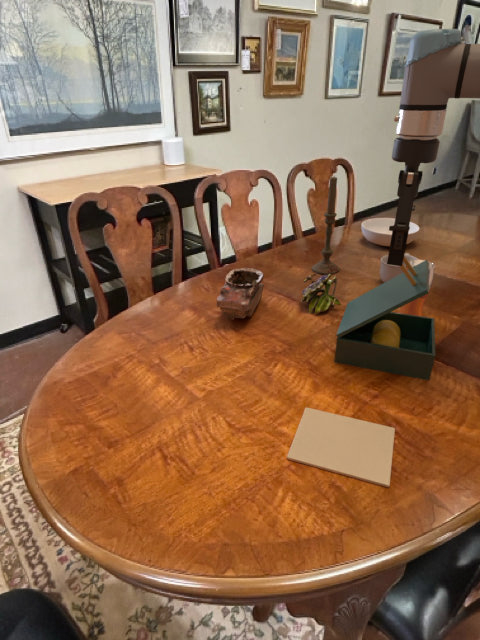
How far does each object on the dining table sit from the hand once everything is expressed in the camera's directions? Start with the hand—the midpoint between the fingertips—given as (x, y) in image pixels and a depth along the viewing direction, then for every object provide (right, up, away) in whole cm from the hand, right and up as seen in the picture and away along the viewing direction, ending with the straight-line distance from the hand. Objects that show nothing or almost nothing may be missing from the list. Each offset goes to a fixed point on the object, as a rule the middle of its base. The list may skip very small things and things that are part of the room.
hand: (396, 252), depth 83 cm
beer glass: (+13, -13, +25) cm, 31 cm away
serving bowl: (+25, +16, +77) cm, 83 cm away
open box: (+1, -21, +11) cm, 24 cm away
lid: (-1, -9, +5) cm, 11 cm away
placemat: (-14, -35, -13) cm, 39 cm away
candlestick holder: (-3, +3, +55) cm, 55 cm away
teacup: (+17, -2, +45) cm, 48 cm away
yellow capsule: (+1, -20, +11) cm, 23 cm away
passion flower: (-9, -10, +32) cm, 35 cm away
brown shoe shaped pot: (-29, -12, +30) cm, 43 cm away
